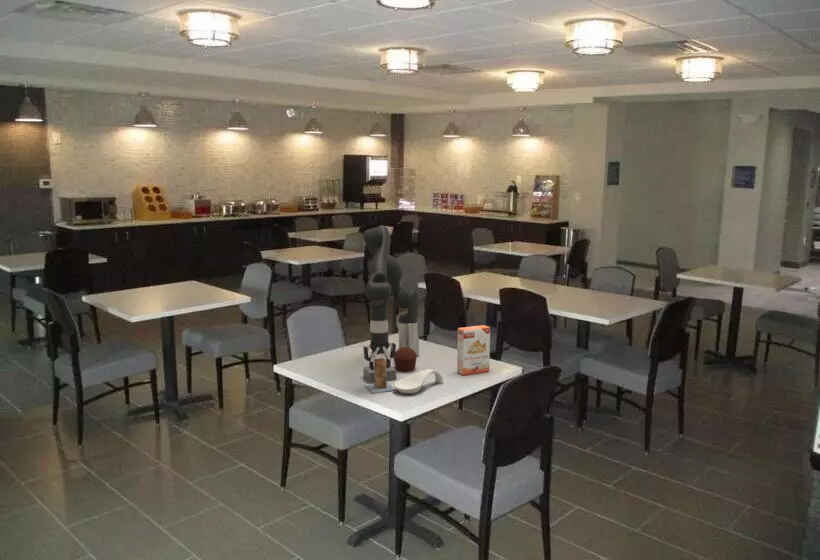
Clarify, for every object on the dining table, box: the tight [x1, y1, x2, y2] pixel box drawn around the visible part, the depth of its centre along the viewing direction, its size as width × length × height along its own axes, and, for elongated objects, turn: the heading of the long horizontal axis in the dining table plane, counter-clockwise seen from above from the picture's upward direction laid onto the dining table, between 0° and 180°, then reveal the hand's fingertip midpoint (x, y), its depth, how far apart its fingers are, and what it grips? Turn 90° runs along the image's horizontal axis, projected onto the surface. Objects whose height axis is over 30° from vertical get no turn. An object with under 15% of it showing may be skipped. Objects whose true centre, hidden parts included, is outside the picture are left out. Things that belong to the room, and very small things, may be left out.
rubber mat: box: [365, 381, 397, 394], centre depth 275 cm, size 10×10×1 cm
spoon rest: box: [393, 368, 444, 395], centre depth 275 cm, size 24×12×7 cm, turn 131°
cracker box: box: [456, 324, 491, 376], centre depth 294 cm, size 14×6×21 cm, turn 115°
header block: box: [362, 365, 397, 384], centre depth 288 cm, size 12×10×4 cm
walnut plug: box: [373, 357, 388, 389], centre depth 274 cm, size 4×4×12 cm
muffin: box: [393, 347, 418, 373], centre depth 301 cm, size 12×11×10 cm
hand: (380, 368), depth 274 cm, fingers open, 6 cm apart
